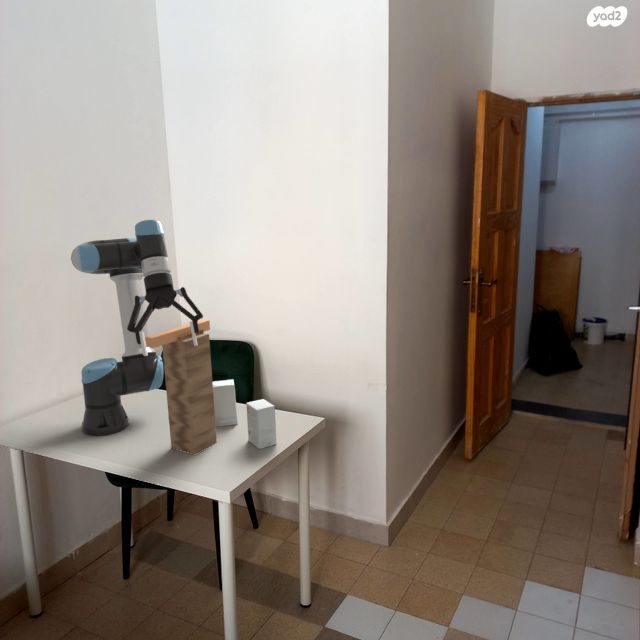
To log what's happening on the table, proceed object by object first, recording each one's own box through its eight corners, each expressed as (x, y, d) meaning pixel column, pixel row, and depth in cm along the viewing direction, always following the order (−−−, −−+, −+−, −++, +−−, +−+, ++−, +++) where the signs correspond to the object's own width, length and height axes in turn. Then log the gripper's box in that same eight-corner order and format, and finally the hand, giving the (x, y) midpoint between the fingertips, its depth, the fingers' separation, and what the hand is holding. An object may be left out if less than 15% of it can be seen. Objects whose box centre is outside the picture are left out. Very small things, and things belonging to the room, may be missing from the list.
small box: (277, 444, 189) (275, 405, 186) (259, 449, 186) (256, 410, 183) (265, 435, 196) (263, 398, 193) (247, 440, 193) (245, 402, 190)
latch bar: (146, 347, 171) (145, 336, 170) (202, 328, 191) (202, 319, 190) (153, 348, 169) (152, 338, 168) (210, 329, 189) (209, 320, 188)
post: (171, 448, 188) (161, 334, 180) (193, 436, 197) (184, 327, 188) (195, 454, 183) (185, 337, 175) (216, 442, 192) (208, 330, 183)
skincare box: (237, 418, 211) (234, 378, 207) (237, 425, 205) (235, 384, 202) (213, 420, 210) (210, 380, 206) (213, 427, 204) (210, 386, 200)
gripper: (107, 280, 160) (120, 358, 157) (200, 263, 163) (215, 339, 160) (114, 286, 167) (127, 361, 164) (203, 270, 170) (217, 342, 167)
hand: (170, 350), depth 162 cm, fingers open, 13 cm apart
